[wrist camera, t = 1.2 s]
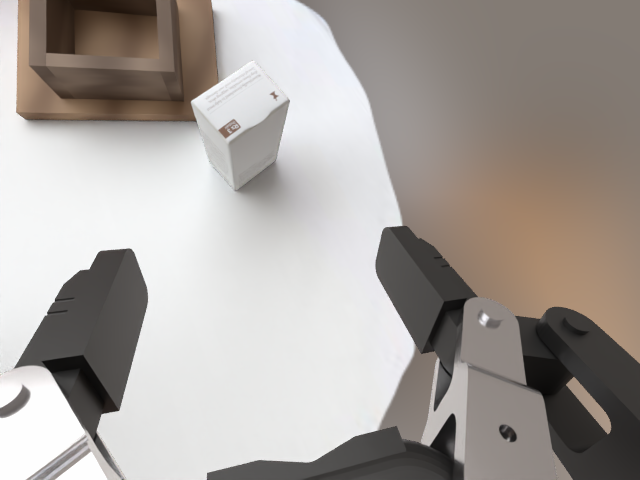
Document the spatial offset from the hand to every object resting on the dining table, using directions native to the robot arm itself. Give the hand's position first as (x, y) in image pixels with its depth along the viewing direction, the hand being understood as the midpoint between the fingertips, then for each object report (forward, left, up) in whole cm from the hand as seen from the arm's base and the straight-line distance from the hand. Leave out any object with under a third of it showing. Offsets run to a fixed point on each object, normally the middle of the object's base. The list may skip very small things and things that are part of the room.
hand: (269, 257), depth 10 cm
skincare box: (0, +13, -23) cm, 26 cm away
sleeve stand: (-11, +25, -23) cm, 35 cm away
